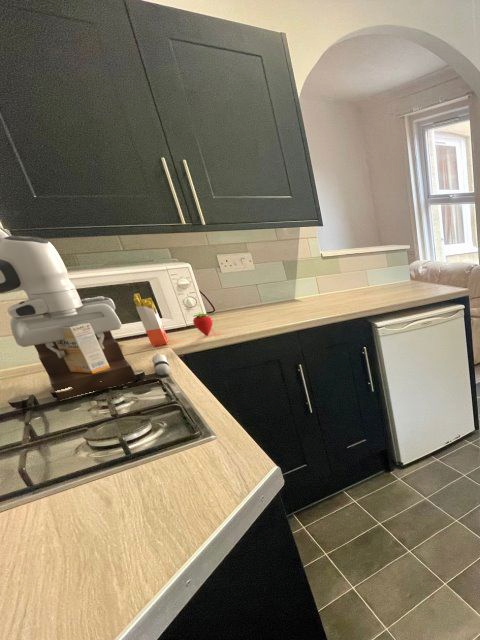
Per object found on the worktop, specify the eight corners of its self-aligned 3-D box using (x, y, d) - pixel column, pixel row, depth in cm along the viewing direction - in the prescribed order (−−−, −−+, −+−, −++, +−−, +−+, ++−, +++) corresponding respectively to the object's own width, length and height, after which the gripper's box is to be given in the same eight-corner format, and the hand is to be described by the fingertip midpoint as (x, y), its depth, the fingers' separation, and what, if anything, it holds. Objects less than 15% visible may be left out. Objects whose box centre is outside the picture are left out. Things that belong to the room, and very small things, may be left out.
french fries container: (169, 338, 159) (150, 291, 151) (168, 345, 150) (148, 295, 143) (154, 341, 156) (134, 293, 149) (152, 348, 148) (131, 297, 141)
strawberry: (214, 331, 165) (206, 306, 161) (218, 335, 160) (209, 309, 156) (196, 335, 162) (187, 309, 158) (200, 338, 156) (190, 312, 152)
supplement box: (69, 372, 114) (45, 326, 109) (89, 366, 118) (67, 321, 113) (91, 374, 112) (68, 327, 107) (111, 367, 116) (89, 321, 111)
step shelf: (60, 401, 109) (24, 335, 101) (55, 384, 120) (22, 323, 113) (138, 381, 119) (110, 320, 112) (126, 367, 131) (101, 310, 124)
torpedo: (175, 374, 123) (167, 353, 121) (155, 379, 121) (146, 357, 118) (169, 359, 136) (162, 340, 133) (151, 363, 133) (143, 344, 130)
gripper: (108, 293, 116) (129, 340, 122) (-1, 309, 102) (28, 361, 108) (112, 296, 112) (133, 344, 118) (-1, 312, 99) (29, 367, 104)
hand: (82, 353), depth 113 cm, fingers closed on supplement box, 6 cm apart
